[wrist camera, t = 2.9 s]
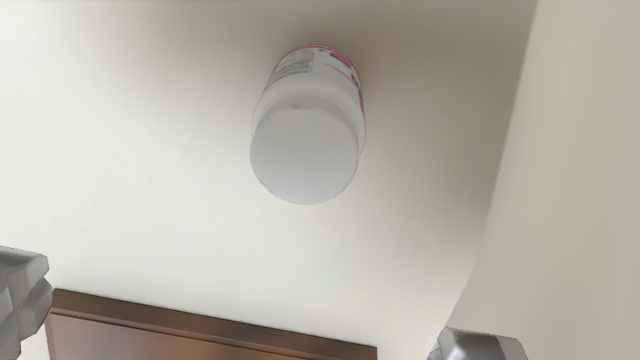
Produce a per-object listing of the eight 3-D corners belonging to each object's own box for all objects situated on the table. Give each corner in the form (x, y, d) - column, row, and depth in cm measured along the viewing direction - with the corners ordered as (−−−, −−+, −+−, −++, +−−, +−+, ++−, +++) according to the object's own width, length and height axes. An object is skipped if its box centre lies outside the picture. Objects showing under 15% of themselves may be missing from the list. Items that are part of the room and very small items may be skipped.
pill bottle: (376, 103, 23) (392, 181, 16) (302, 144, 25) (285, 232, 17) (331, 24, 21) (326, 70, 14) (253, 72, 23) (211, 138, 15)
